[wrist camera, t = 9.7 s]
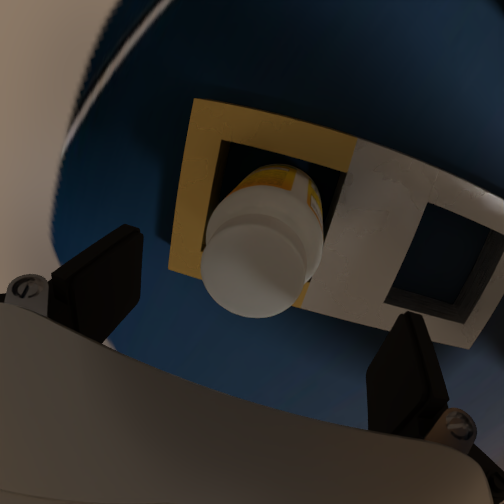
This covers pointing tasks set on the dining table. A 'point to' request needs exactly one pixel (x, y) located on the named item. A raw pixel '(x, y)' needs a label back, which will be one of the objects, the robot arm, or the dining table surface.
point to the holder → (347, 219)
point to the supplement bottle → (264, 242)
